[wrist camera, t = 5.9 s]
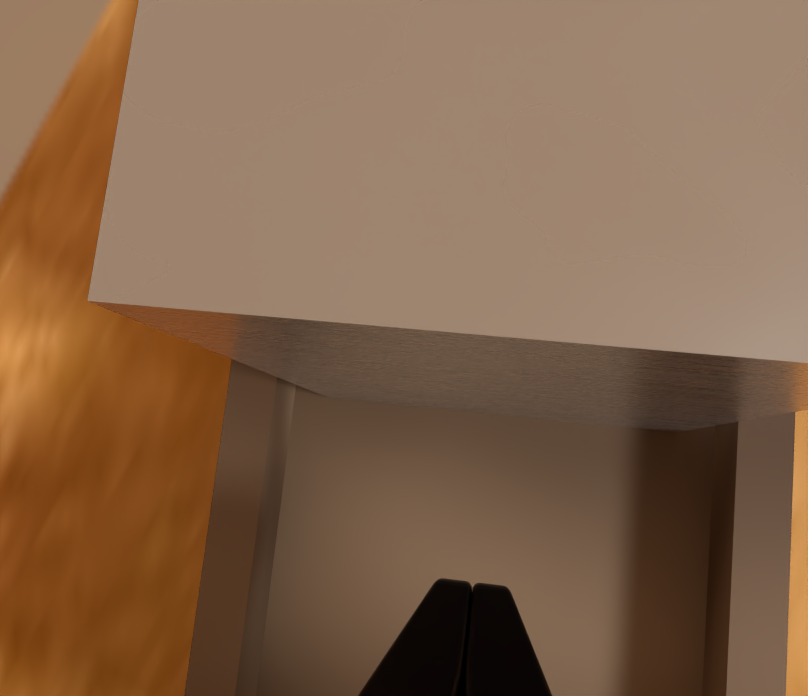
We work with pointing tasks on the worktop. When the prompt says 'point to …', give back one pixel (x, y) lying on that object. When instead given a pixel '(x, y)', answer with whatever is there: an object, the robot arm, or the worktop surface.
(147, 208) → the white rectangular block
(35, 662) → the worktop surface
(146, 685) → the worktop surface
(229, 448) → the wooden serving tray
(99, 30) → the worktop surface
